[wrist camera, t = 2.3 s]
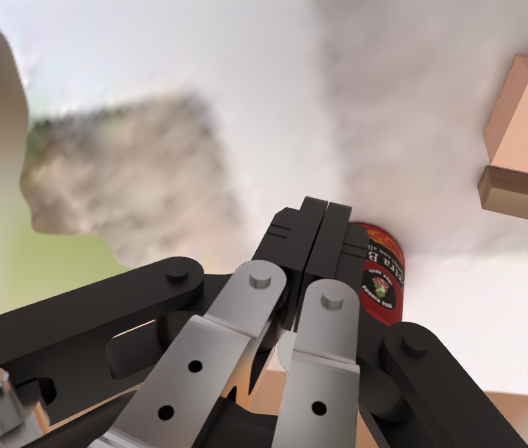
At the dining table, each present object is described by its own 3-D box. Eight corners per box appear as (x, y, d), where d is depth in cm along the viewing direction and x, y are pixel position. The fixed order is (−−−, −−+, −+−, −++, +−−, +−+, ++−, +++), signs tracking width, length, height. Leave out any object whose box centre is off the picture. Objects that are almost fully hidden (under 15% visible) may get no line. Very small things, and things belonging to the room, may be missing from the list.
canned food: (426, 257, 34) (426, 371, 25) (362, 306, 39) (343, 415, 30) (350, 201, 33) (322, 298, 25) (294, 259, 38) (255, 356, 29)
